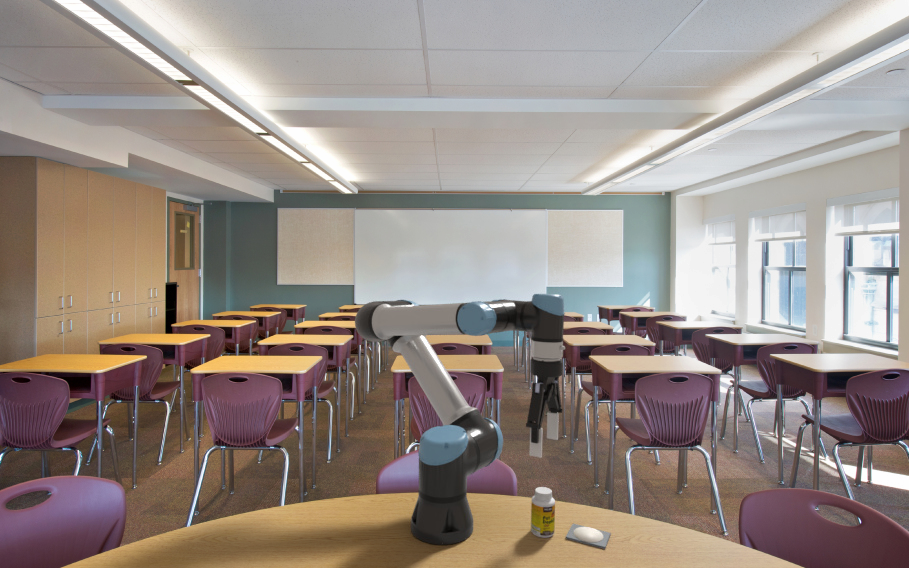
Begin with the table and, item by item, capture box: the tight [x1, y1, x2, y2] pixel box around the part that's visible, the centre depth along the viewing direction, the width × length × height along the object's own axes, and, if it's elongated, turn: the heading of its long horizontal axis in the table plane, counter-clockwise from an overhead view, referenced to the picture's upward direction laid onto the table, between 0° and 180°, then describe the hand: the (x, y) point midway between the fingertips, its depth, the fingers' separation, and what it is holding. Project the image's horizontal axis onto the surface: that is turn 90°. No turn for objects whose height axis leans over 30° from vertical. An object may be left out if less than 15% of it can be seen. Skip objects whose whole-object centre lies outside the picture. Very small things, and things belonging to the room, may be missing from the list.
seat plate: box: [565, 523, 612, 550], centre depth 113 cm, size 9×7×1 cm
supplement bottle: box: [530, 486, 556, 539], centre depth 115 cm, size 6×6×10 cm
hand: (544, 447), depth 115 cm, fingers open, 13 cm apart
